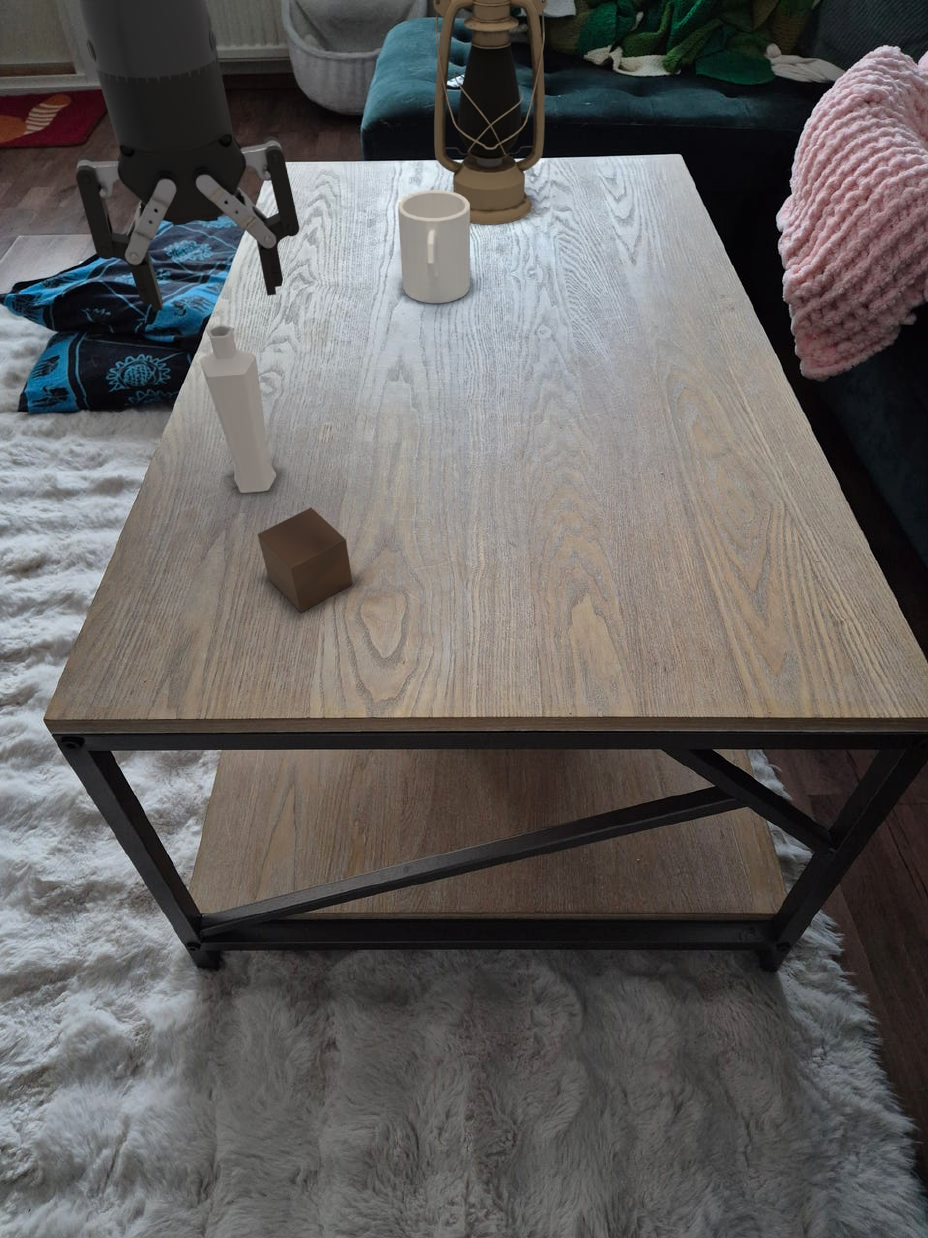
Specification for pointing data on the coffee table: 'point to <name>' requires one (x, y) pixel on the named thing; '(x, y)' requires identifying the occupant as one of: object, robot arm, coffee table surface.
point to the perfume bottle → (239, 408)
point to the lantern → (490, 107)
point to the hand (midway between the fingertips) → (214, 298)
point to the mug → (435, 245)
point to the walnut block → (306, 559)
